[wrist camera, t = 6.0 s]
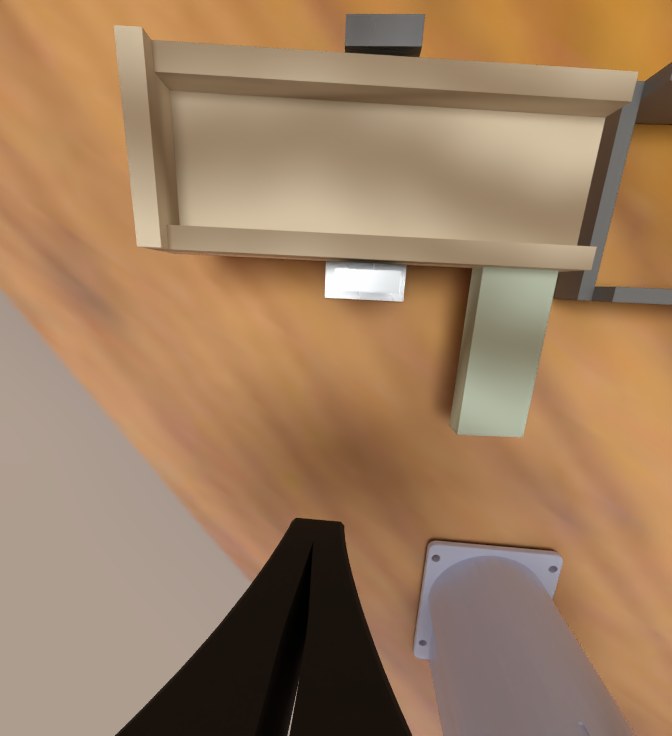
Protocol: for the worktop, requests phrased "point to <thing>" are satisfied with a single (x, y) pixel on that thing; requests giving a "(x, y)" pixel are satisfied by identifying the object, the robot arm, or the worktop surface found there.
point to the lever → (377, 178)
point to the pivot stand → (378, 39)
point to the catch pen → (648, 106)
